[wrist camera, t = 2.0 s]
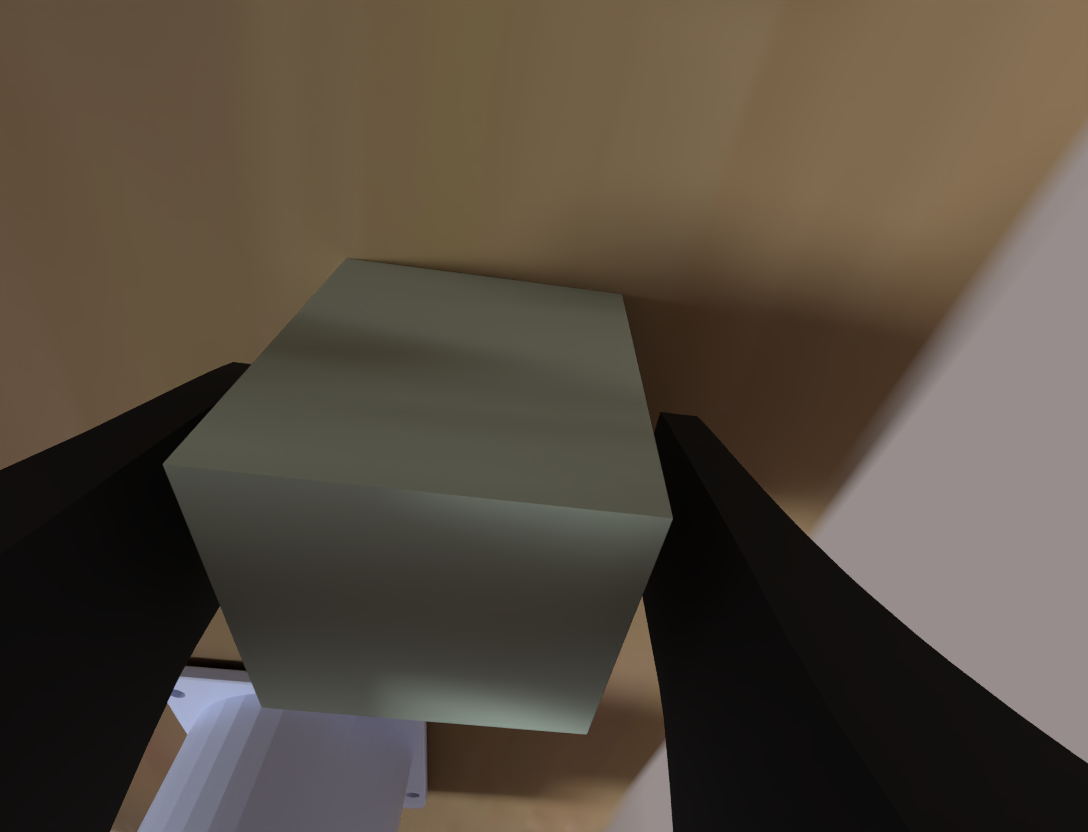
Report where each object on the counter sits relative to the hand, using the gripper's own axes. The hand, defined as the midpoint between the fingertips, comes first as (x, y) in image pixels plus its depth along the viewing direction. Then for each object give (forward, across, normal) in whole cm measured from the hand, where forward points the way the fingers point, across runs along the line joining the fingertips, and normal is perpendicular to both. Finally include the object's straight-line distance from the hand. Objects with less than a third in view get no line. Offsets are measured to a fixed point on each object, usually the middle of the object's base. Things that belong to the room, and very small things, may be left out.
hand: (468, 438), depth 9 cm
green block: (+2, 0, 0) cm, 2 cm away
